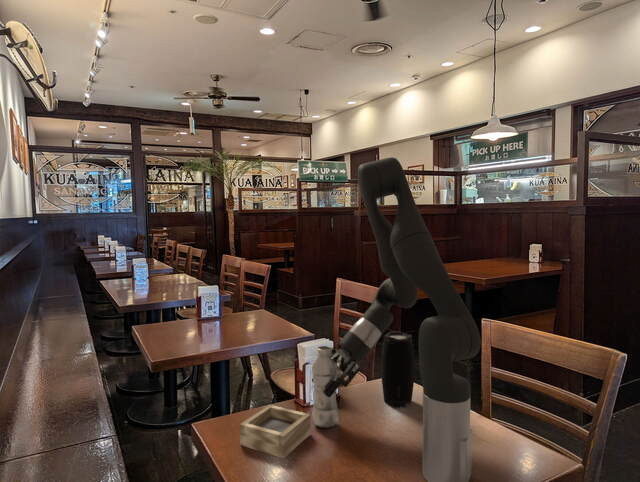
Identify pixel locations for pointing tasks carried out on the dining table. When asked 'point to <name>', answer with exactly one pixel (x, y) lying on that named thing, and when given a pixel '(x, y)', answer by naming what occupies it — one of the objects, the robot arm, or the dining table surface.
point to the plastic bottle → (322, 376)
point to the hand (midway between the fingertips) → (319, 388)
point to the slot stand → (275, 430)
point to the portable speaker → (397, 368)
